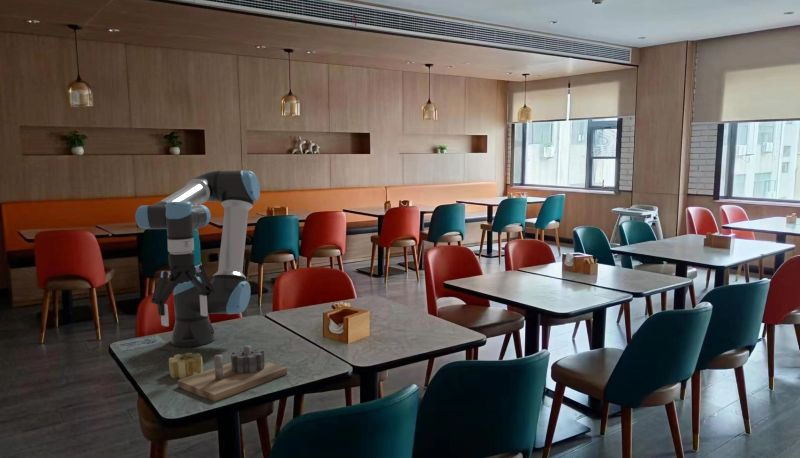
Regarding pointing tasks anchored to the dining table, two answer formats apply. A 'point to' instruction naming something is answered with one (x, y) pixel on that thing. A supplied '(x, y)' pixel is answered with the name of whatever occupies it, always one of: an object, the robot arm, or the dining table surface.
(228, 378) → the gear board
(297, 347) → the dining table surface
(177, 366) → the brass gear
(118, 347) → the dining table surface
